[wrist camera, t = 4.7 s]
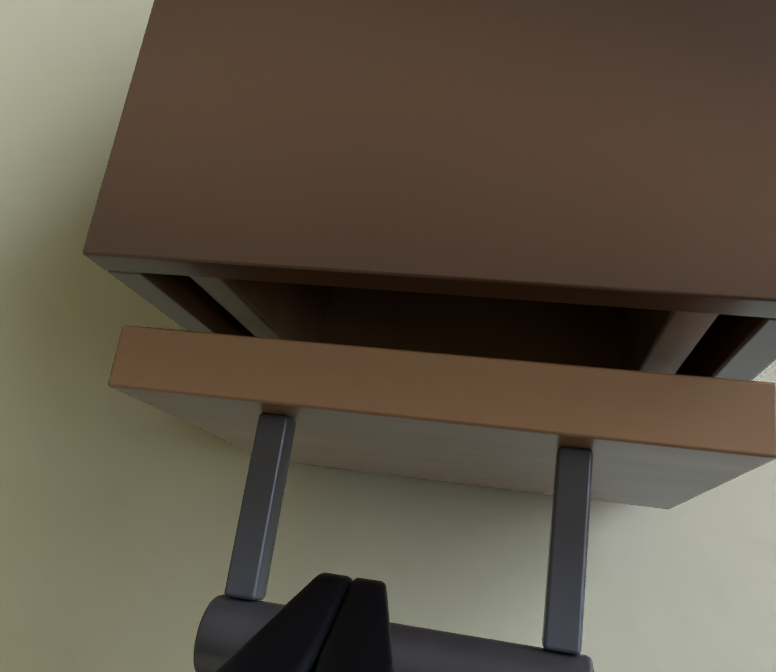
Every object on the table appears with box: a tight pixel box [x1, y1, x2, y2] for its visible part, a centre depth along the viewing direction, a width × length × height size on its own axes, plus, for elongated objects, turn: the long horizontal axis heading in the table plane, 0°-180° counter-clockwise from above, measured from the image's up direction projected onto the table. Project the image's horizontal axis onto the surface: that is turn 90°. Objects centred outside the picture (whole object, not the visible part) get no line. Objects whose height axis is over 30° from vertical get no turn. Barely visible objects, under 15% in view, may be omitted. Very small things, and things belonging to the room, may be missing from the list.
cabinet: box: [83, 0, 776, 381], centre depth 19 cm, size 14×13×11 cm
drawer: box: [108, 276, 776, 672], centre depth 18 cm, size 17×11×9 cm, turn 171°
